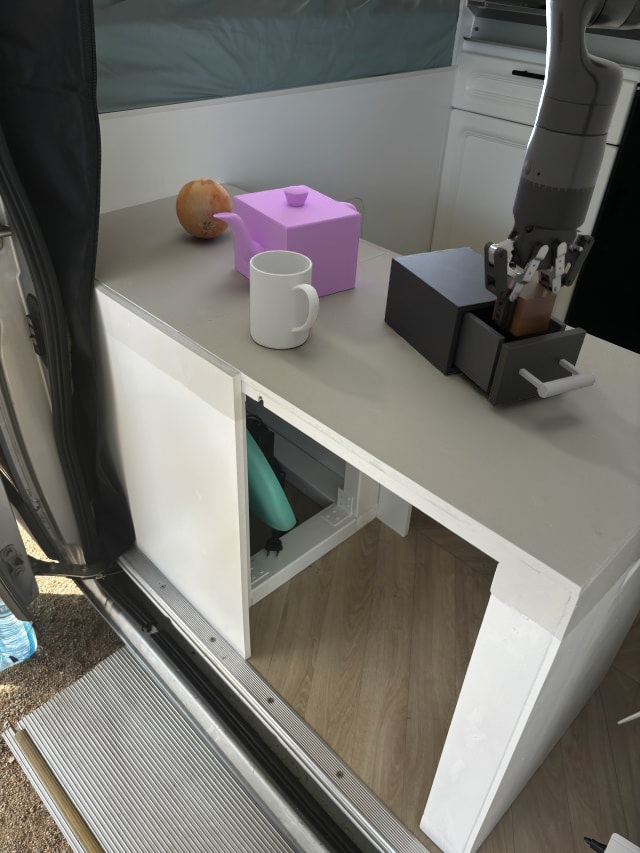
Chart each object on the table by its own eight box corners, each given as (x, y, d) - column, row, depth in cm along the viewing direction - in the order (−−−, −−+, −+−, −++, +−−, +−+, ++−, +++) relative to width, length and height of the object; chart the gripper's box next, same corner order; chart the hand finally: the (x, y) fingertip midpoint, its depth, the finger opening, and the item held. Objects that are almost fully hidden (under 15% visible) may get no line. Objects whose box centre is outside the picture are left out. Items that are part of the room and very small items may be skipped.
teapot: (194, 277, 102) (188, 186, 94) (324, 249, 114) (329, 166, 106) (242, 317, 93) (240, 219, 84) (379, 281, 105) (389, 192, 96)
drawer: (597, 409, 77) (619, 352, 72) (521, 431, 73) (539, 371, 68) (495, 333, 91) (508, 281, 86) (426, 348, 87) (435, 293, 82)
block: (521, 313, 80) (530, 278, 77) (546, 330, 77) (557, 294, 74) (491, 319, 78) (499, 283, 76) (516, 336, 75) (525, 300, 72)
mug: (240, 329, 90) (238, 256, 83) (289, 317, 93) (291, 246, 87) (286, 371, 82) (288, 294, 76) (337, 355, 85) (343, 280, 79)
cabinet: (523, 357, 88) (541, 291, 82) (445, 375, 83) (458, 306, 77) (456, 307, 99) (468, 246, 93) (383, 321, 94) (391, 257, 88)
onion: (223, 224, 122) (221, 168, 116) (240, 243, 115) (239, 185, 109) (172, 229, 118) (167, 172, 112) (186, 249, 111) (182, 189, 105)
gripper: (528, 191, 62) (490, 348, 72) (637, 179, 67) (587, 327, 77) (480, 169, 67) (451, 318, 77) (584, 160, 72) (545, 300, 83)
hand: (519, 322), depth 77 cm, fingers closed on block, 4 cm apart
